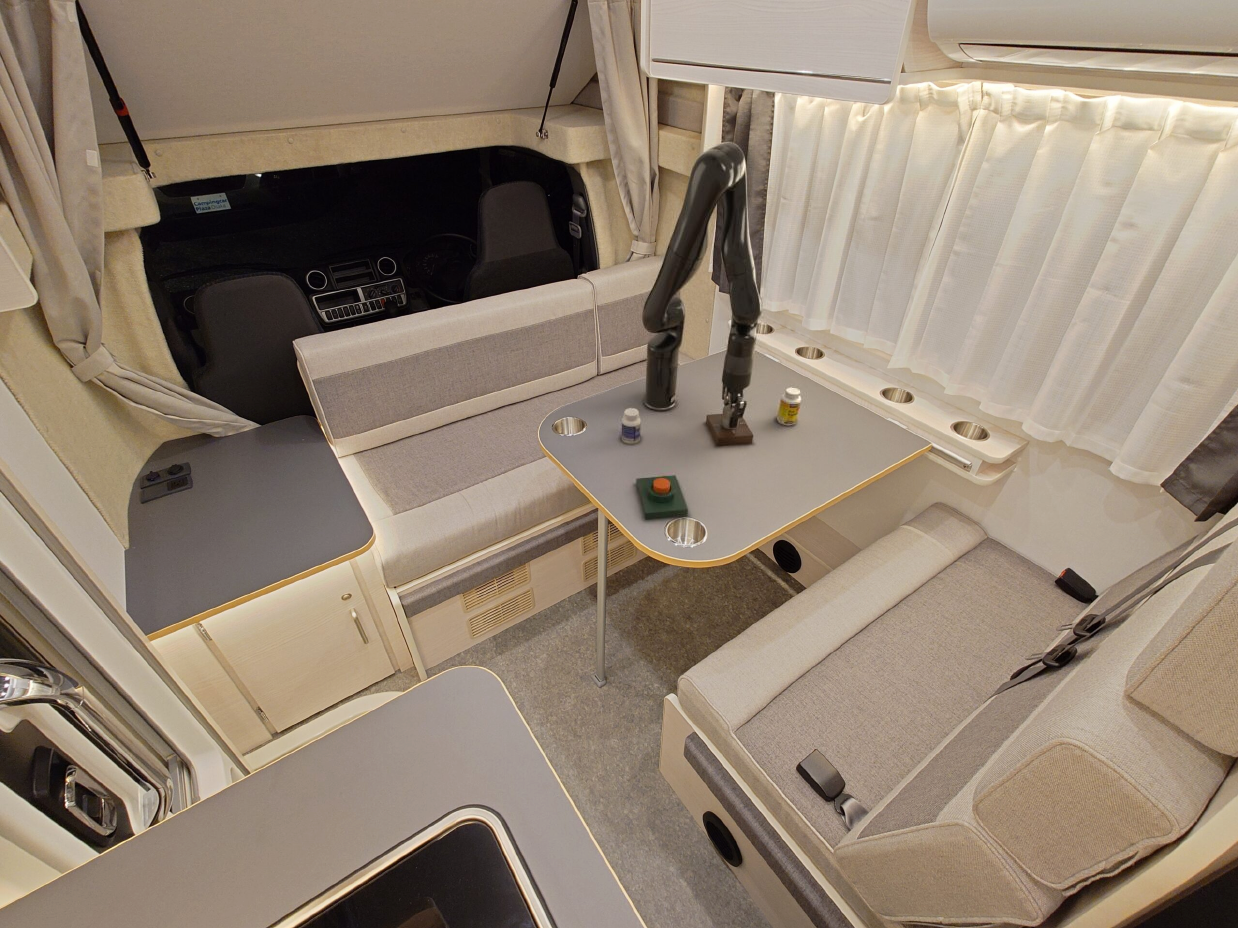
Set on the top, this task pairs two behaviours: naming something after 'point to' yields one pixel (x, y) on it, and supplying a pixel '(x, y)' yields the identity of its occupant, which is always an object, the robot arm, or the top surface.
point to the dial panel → (728, 432)
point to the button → (661, 486)
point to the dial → (726, 417)
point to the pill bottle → (631, 426)
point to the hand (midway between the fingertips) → (729, 421)
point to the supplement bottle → (789, 407)
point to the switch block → (661, 499)
